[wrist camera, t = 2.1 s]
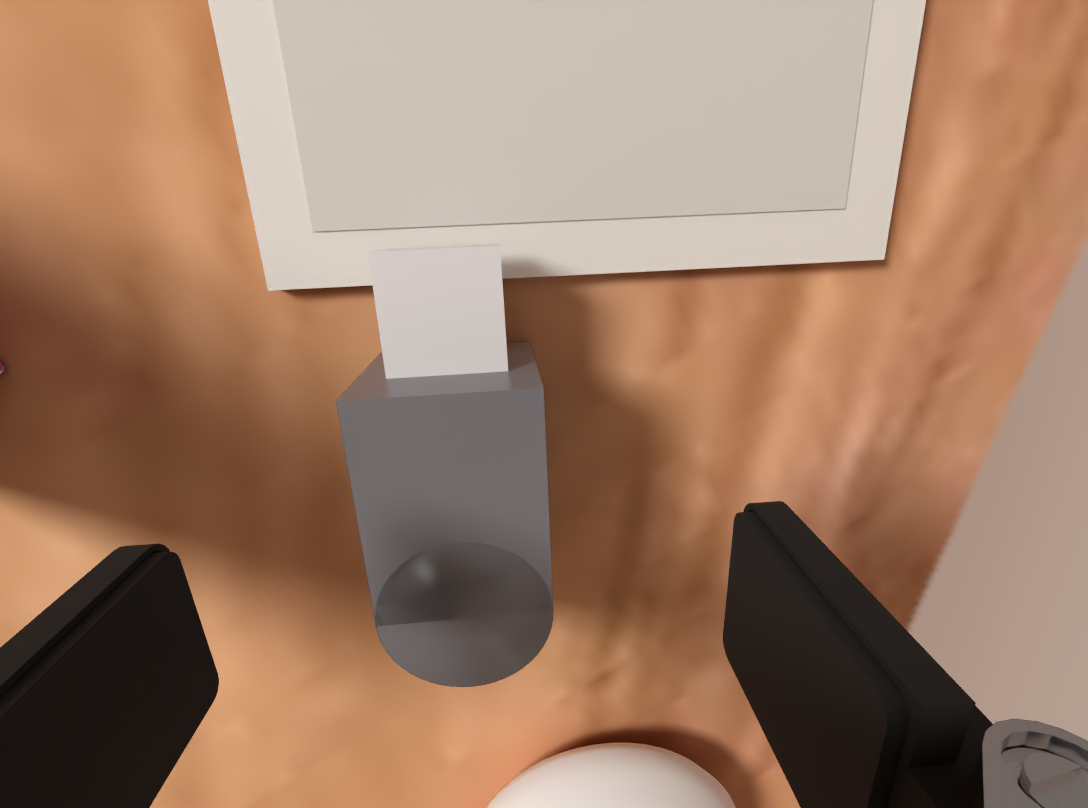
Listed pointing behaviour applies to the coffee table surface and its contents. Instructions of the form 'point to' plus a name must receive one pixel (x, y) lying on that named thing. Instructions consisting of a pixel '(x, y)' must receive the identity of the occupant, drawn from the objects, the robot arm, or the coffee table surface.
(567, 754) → the flower in vase
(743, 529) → the robot arm
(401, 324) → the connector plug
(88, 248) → the coffee table surface
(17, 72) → the coffee table surface
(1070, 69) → the coffee table surface
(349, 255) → the white rectangular tray
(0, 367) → the candy bar box
